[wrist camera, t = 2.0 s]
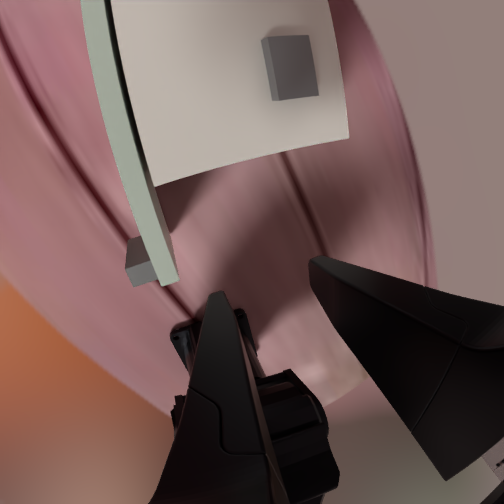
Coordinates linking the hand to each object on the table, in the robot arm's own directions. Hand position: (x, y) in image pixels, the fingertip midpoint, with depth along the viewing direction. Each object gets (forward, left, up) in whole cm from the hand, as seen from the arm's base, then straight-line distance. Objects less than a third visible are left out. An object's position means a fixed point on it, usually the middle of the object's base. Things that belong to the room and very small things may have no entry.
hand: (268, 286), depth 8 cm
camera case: (+9, -2, -12) cm, 15 cm away
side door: (+6, +4, -12) cm, 14 cm away
